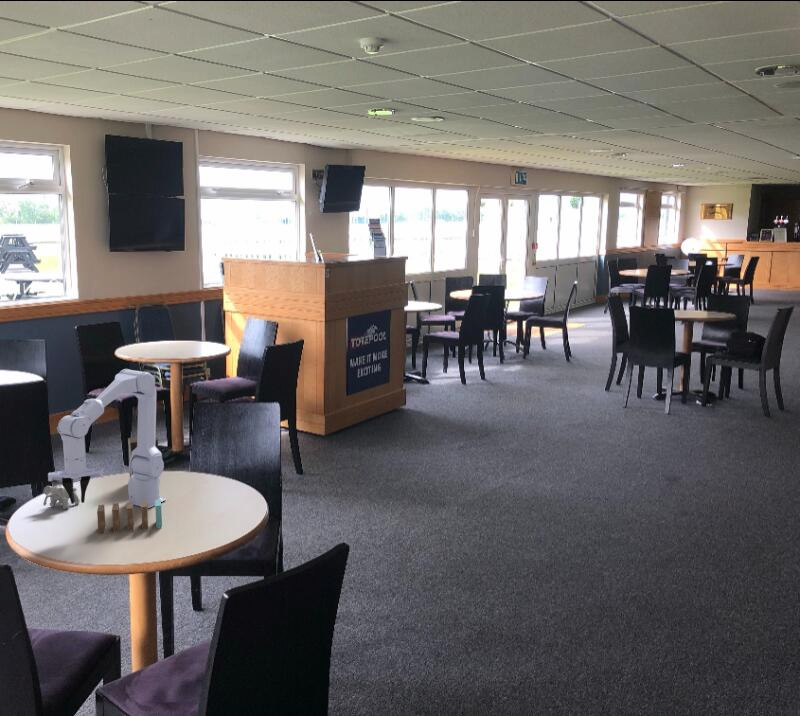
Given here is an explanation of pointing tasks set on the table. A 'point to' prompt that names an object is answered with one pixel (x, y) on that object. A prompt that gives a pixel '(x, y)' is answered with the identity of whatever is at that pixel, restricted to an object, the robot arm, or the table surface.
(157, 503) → the teal domino
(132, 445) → the coffee box
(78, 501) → the gray elephant figurine
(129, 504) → the domino
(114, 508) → the domino
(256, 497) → the table surface
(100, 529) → the domino
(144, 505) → the domino
